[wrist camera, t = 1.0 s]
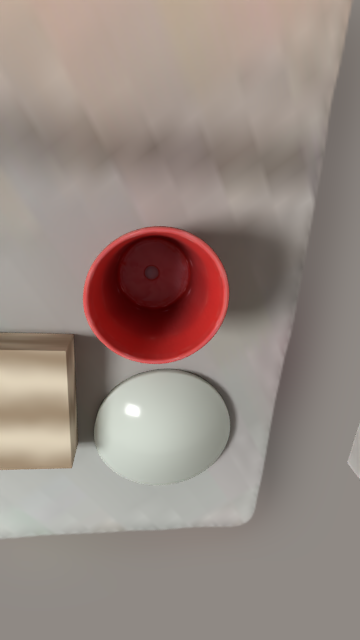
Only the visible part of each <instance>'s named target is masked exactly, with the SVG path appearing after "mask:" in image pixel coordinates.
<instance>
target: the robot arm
mask: <svg viewBox="0 0 360 640" xmlns="http://www.w3.org/2000/svg"><path fill="white" fill-rule="evenodd" d="M347 463H348V464H349V465H350V467H351V468H352V469H353V471H354V472H355V474H356V475H357V476H358V478H359V479H360V423H359V426H358V429H357V433H356V436H355V439H354V443H353V446H352V449H351V452H350V455H349V459H348V462H347Z"/></svg>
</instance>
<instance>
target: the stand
mask: <svg viewBox="0 0 360 640" xmlns="http://www.w3.org/2000/svg"><path fill="white" fill-rule="evenodd" d="M77 445H78V429H77V405H76V381H75V356H74V334H44V333H0V470H14V469H55V468H72V465H73V461H74V457H75V453H76V449H77Z"/></svg>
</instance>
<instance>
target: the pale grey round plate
mask: <svg viewBox="0 0 360 640" xmlns="http://www.w3.org/2000/svg"><path fill="white" fill-rule="evenodd" d="M229 434H230V418H229V414H228V410H227V408H226V405H225V403H224V401H223V399H222V397H221V395H220V394H219V392H218V391H217V390H216V389H215V388H214V387H213V386H212V385H211V384H210V383H208V382H207V381H205V380H204V379H202V378H201V377H199V376H196V375H194V374H192V373H188V372H185V371H180V370H174V369H157V370H151V371H146V372H143V373H139V374H137V375H135V376H132V377H130V378H128V379H126V380H125V381H123V382H121V383H120V384H119V385H117V386H116V387H115V388H114V389H113V390H112V391H111V392H110V393H109V394H108V395H107V396H106V398H105V399H104V400H103V402H102V404H101V406H100V408H99V410H98V413H97V417H96V421H95V426H94V440H95V445H96V448H97V451H98V453H99V455H100V457H101V458H102V460H103V461H104V462H105V464H106V465H107V466H108V467H109V468H110V469H111V470H113V471H114V472H115V473H117V474H118V475H120V476H121V477H124V478H126V479H128V480H130V481H133V482H136V483H141V484H146V485H169V484H175V483H179V482H182V481H186V480H188V479H191V478H193V477H195V476H197V475H199V474H200V473H202V472H203V471H205V470H206V469H207V468H209V467H210V466H211V465H212V464H213V463H214V462H215V461H216V460H217V459H218V457H219V456H220V455H221V453H222V452H223V450H224V448H225V446H226V444H227V441H228V438H229Z"/></svg>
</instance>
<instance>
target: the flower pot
mask: <svg viewBox="0 0 360 640" xmlns="http://www.w3.org/2000/svg"><path fill="white" fill-rule="evenodd" d="M228 303H229V283H228V278H227V274H226V271H225V269H224V266H223V264H222V262H221V260H220V259H219V257H218V256H217V254H216V253H215V252H214V250H213V249H212V248H211V247H210V246H209V245H208V244H207V243H205V242H204V241H203V240H202V239H200V238H199V237H197V236H195V235H194V234H192V233H189V232H187V231H184V230H181V229H178V228H173V227H166V226H154V227H146V228H141V229H137V230H134V231H131V232H129V233H126V234H124V235H122V236H121V237H119V238H117V239H116V240H114V241H113V242H112V243H110V244H109V245H108V246H107V247H106V248H105V249H104V250H103V251H102V252H101V253H100V254H99V255H98V256H97V258H96V259H95V261H94V262H93V264H92V266H91V268H90V270H89V272H88V274H87V277H86V281H85V285H84V293H83V305H84V312H85V315H86V318H87V321H88V323H89V325H90V327H91V329H92V331H93V332H94V334H95V335H96V336H97V338H98V339H99V340H100V341H101V342H102V343H103V344H104V345H105V346H106V347H108V348H109V349H110V350H112V351H113V352H115V353H116V354H118V355H120V356H122V357H124V358H127V359H129V360H133V361H136V362H141V363H148V364H162V363H169V362H174V361H177V360H181V359H183V358H185V357H188V356H190V355H191V354H193V353H195V352H196V351H198V350H199V349H201V348H202V347H203V346H204V345H206V344H207V343H208V342H209V341H210V340H211V339H212V338H213V336H214V335H215V334H216V333H217V331H218V329H219V328H220V326H221V324H222V322H223V320H224V318H225V316H226V312H227V309H228Z"/></svg>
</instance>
